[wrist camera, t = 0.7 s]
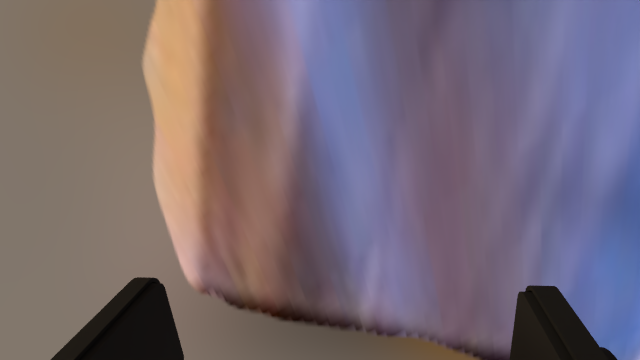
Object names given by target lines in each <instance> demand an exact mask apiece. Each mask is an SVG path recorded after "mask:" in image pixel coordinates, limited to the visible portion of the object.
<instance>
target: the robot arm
mask: <svg viewBox="0 0 640 360" xmlns="http://www.w3.org/2000/svg"><path fill="white" fill-rule="evenodd" d="M51 360H184V355H183V351H182V348H181V344H180V340H179V337H178V333H177V330H176V326H175V322H174V319H173V315H172V312H171V308H170V305H169V301H168V297H167V294H166V291H165V287H164V285H163V284H161V283H160V282H159V280H158V279H156V278H134V279H133V280H131V281H130V282H129V283H128V284H127V285H126V286H125V287H124V288H123V289H122V290H121V291H120V292H119V293H118V294H117V295H116V296H115V297H114V298H113V299H112V300H111V301H110V302H109V303H108V304H107V305H106V306H105V307H104V308H103V309H102V310H101V311H100V312H99V313H98V314H97V315H96V316H95V317H94V318H93V319H92V320H91V321H90V322H88V323H87V325H85V326H84V327H83V328H82V329H81V330H80V332H78V333H77V334H76V335H75V336H74V337H73V338H72V339H71V340H70V341H69V342H68V343H67V344H66V345H65V346H64V347H63V348H62V349H61V350H60V351H59V352H58V353H57V354H56V355H55V356H54V357H53V358H52V359H51ZM510 360H617V359H616V357H615V356H614V355H613V354H612V353H611V352H610V351H609V350H607V349H606V348H603V347H599V345H598V344H597V343H596V341H595V340H594V338H593V337H592V336H591V334H590V333H589V331H588V330H587V329H586V327H585V326H584V324H583V323H582V322H581V320H580V319H579V317H578V316H577V315H576V313H575V312H574V310H573V309H572V308H571V306H570V305H569V303H568V302H567V301H566V299H565V298H564V296H563V295H562V294H561V292H560V291H559V290H558V288H557V287H555V286H527V288H526V291H525V292H519V294H518V298H517V306H516V314H515V322H514V330H513V337H512V345H511V353H510Z"/></svg>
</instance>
